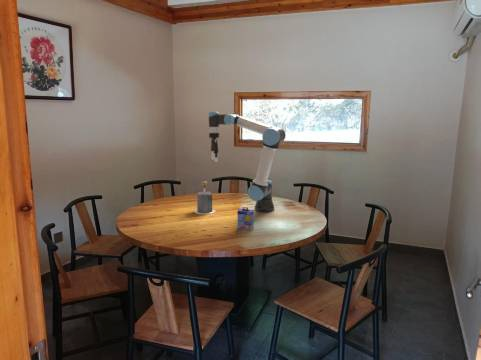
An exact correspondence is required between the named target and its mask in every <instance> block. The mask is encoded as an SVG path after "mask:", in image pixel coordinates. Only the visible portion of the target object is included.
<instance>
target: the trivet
mask: <svg viewBox="0 0 481 360" xmlns="http://www.w3.org/2000/svg"><path fill="white" fill-rule="evenodd" d="M193 213H194V214H196V215H197V214H198V215H210V214H214V213H216V210H215V209H213V208H212V212H211V213H198V212H197V209H195V210H194V211H193Z"/></svg>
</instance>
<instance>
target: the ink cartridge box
mask: <svg viewBox="0 0 481 360" xmlns="http://www.w3.org/2000/svg"><path fill="white" fill-rule="evenodd" d="M254 214H255V209H249V207H247V206H246V207H243V206H242V208H239V209H237V230H244V231H245V230H246V231H248V230H249V231H252V230H253V229H254V227H255V226H254V219H255V217H254V216H255V215H254Z"/></svg>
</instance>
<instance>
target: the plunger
mask: <svg viewBox="0 0 481 360" xmlns="http://www.w3.org/2000/svg"><path fill="white" fill-rule="evenodd" d="M201 187H203V192H204V193H205V192H206V187H208V181H206V180H205V181H201Z"/></svg>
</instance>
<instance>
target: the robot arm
mask: <svg viewBox="0 0 481 360" xmlns="http://www.w3.org/2000/svg"><path fill="white" fill-rule="evenodd" d="M220 125H221V126H222V125H223V126H225V125H227V126H229V125H234V126H237V127H240V128H242V129H246V130H249V131H251V132H253V133H256V134H259V135H262V137H261V138H262V144H261V145H262V147H263V149H262V152H261V153H262V154H261V157H260V160H259V163H258V168H257V171H256V175H255V178H254V179H253V180H252V181H251V185H250V186H249V187H248V189H247V196H248V198H249V199H250V200H251V201H254V202H255V205H254V211H257V212H262V213H267V212H273V211H275V205H274V202H273V201H274V200H273V181H272V180H269V175H270V173H271V168H272V164H273V160H274V157H275V154H276V151H278V150H279V147H280V144H281V143H283V141H285V139H286V131H285V130H284V128H281V127H278V126H274V125H267V124H264V123H261V122H258V121H256V120H252V119H250V118H246V117H243V116H240V115H239V114H238V113H237V114H236V113H226V114H224V113H223V114H220V113H219V112H218V111H209V112H208V132H209V134H208V137H209V139H210V142H211V144H210V145H211V146H210V151H211V160H212V161H213V160H214V161H213V162H215V163H216V162H219V147H218V139H219V138H220Z"/></svg>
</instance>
